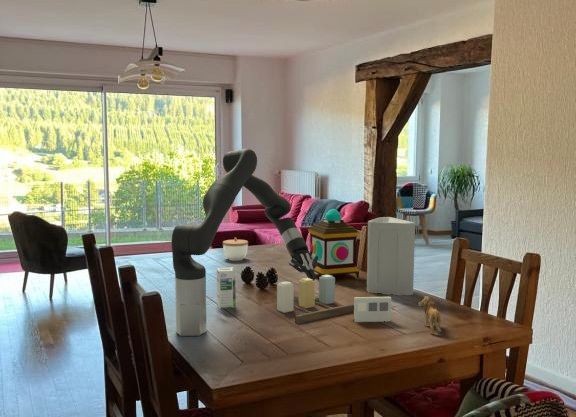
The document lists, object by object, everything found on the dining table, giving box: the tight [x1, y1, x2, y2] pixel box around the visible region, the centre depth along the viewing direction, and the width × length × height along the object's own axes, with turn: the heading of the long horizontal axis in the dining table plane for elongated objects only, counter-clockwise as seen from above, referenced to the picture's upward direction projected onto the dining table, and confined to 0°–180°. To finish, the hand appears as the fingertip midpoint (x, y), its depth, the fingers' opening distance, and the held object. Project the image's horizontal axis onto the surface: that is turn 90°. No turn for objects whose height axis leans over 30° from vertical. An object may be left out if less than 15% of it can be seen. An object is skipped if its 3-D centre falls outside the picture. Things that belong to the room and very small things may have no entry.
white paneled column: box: [366, 216, 416, 296], centre depth 222 cm, size 19×15×28 cm
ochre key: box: [298, 277, 316, 309], centre depth 196 cm, size 4×4×10 cm
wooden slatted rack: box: [293, 301, 354, 325], centre depth 193 cm, size 20×28×4 cm
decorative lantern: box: [307, 208, 360, 280], centre depth 245 cm, size 20×20×30 cm
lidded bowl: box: [222, 237, 249, 262], centre depth 283 cm, size 13×13×11 cm
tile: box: [353, 296, 392, 323], centre depth 183 cm, size 1×12×8 cm, turn 94°
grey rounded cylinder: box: [318, 275, 336, 305], centre depth 201 cm, size 4×4×10 cm
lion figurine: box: [418, 295, 443, 336], centre depth 176 cm, size 15×5×9 cm, turn 7°
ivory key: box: [276, 281, 295, 313], centre depth 191 cm, size 4×4×10 cm
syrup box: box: [216, 266, 237, 310], centre depth 196 cm, size 6×6×14 cm
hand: (313, 279), depth 207 cm, fingers closed
